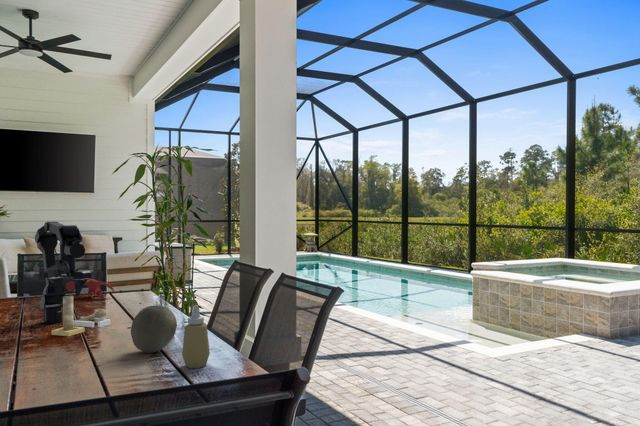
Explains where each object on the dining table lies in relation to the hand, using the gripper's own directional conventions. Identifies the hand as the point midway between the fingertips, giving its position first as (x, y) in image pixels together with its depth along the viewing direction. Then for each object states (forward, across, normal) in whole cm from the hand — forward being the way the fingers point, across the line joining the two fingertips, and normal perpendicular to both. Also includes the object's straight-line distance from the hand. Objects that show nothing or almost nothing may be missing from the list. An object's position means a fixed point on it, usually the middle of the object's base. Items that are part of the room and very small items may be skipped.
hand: (67, 296), depth 203 cm
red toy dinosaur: (+13, -48, +67) cm, 84 cm away
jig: (+13, +2, +2) cm, 13 cm away
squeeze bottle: (+13, +76, -29) cm, 82 cm away
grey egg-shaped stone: (+13, +54, -19) cm, 59 cm away
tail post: (+13, +6, -6) cm, 15 cm away
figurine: (+13, +1, +9) cm, 16 cm away
